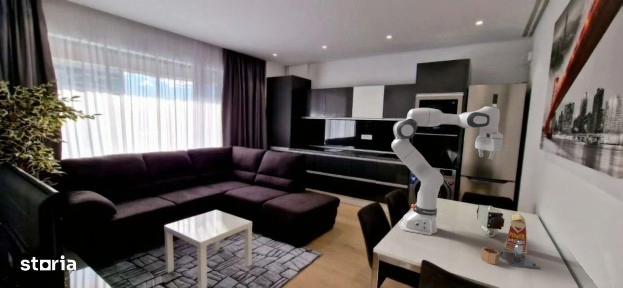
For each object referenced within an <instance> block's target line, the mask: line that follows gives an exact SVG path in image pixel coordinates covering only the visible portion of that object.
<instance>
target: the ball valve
mask: <svg viewBox="0 0 623 288" xmlns="http://www.w3.org/2000/svg"><path fill="white" fill-rule="evenodd" d="M477 205H478V207H477V209H476V213H477V214H476V215H477V216H476V220H478V222H480V223H481V224H482V225H481V226H480V229H481V230H480V231H481V232H482V233H484V234H485V236H487V237H489V238H494V237H495V236H498V234H499V231H498V230H502V228H504V225H505V218H504V213H502V212H501V210H499V209H498V208H496V207H493V206H492V205H488V204H487V205H485V204H477Z"/></svg>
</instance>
